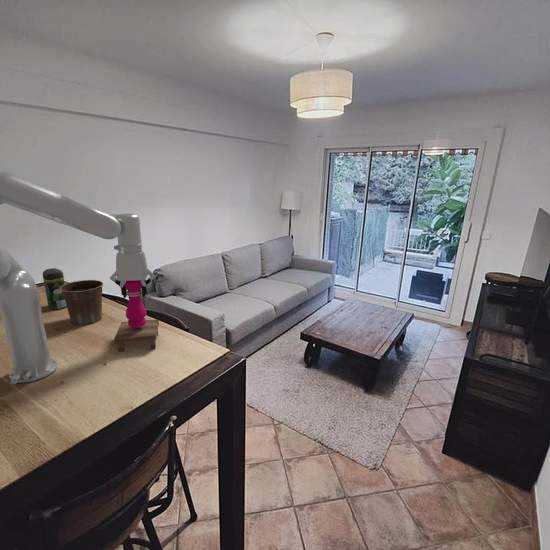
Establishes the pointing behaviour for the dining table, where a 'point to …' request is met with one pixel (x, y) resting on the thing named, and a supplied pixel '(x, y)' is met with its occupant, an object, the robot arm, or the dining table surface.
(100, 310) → the plant pot
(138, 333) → the wooden stool
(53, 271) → the coffee jar
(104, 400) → the dining table surface
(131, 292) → the pepper mill
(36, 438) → the dining table surface
